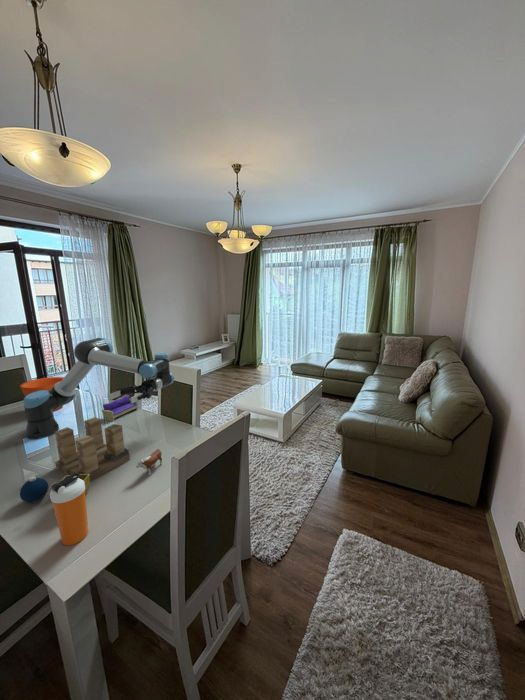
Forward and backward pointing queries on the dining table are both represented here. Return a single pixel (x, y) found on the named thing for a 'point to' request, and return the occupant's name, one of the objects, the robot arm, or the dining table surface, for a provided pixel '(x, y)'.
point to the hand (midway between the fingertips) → (119, 399)
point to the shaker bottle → (70, 509)
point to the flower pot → (86, 480)
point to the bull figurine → (150, 461)
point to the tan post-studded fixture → (86, 452)
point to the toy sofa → (118, 408)
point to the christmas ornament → (34, 489)
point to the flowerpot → (40, 386)
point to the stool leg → (114, 439)
